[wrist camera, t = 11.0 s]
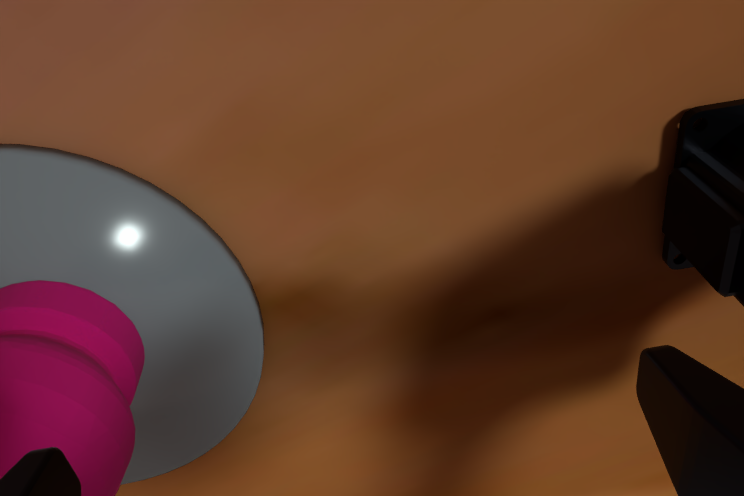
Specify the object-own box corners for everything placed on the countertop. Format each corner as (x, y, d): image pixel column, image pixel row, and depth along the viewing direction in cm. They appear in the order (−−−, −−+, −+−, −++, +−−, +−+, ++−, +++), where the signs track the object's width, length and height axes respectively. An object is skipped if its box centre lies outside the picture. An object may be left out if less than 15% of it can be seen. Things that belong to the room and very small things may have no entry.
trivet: (199, 105, 20) (196, 114, 19) (300, 440, 29) (299, 454, 28) (-296, 187, 20) (-317, 199, 20) (-48, 497, 29) (-56, 513, 28)
